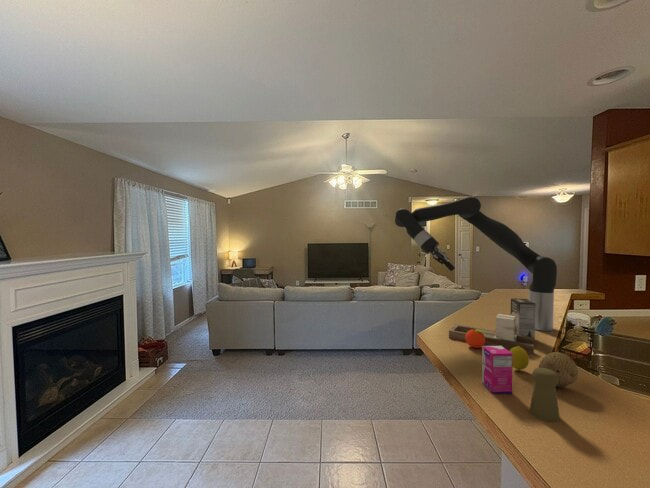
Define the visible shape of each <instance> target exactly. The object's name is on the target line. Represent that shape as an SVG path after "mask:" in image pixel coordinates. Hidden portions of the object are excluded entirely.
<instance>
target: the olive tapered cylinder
mask: <svg viewBox="0 0 650 488" xmlns="http://www.w3.org/2000/svg"><path fill="white" fill-rule="evenodd" d="M531 376H532V377H531V378H532V379H533V381H534V385H533V388H532V393H531V394H532V395H531V400H530V404H529V405H530V406H529V410H528V411H529V413H530V414H531V415H532V416H534V417H535V418H536V419H539V420H541V421H545V422H549V423H550V422H551V423H556V422H560V419H561V417H560V411H559V401H558V395H557V389H556V388H557V387H556V385H557V384H558V376H557V374H556V373H555V372H554V371H552V370H550V369H546V368H539V367H535V368H534V369H533V370H532V374H531Z"/></svg>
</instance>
